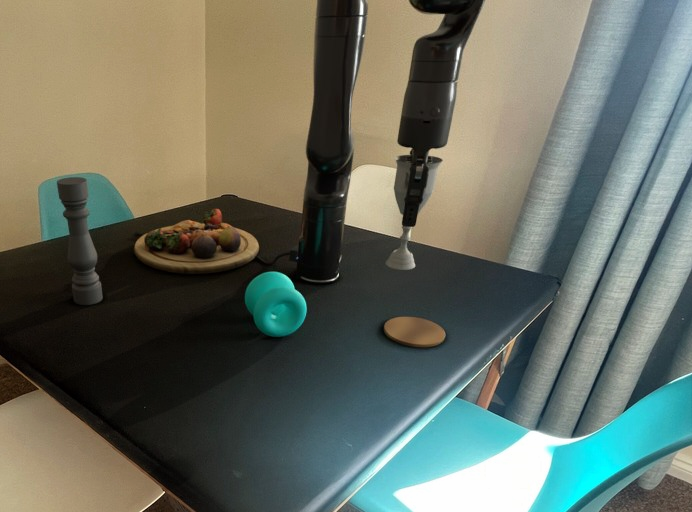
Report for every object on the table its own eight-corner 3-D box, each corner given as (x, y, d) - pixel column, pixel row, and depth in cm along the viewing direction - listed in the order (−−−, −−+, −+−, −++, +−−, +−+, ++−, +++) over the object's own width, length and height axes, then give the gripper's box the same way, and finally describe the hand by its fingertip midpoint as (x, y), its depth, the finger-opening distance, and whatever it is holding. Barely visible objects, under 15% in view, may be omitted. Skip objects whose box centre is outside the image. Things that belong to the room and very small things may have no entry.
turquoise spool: (290, 313, 112) (294, 267, 107) (306, 337, 104) (310, 288, 99) (242, 317, 111) (243, 271, 106) (254, 342, 102) (256, 293, 97)
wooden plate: (185, 224, 162) (184, 195, 157) (281, 245, 146) (283, 214, 141) (108, 257, 140) (104, 225, 135) (210, 287, 124) (210, 252, 119)
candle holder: (108, 295, 121) (94, 178, 107) (91, 307, 116) (75, 186, 103) (84, 290, 123) (68, 175, 110) (67, 302, 118) (48, 183, 105)
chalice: (422, 259, 100) (442, 155, 91) (421, 273, 95) (443, 165, 85) (380, 255, 102) (396, 153, 93) (377, 269, 97) (393, 162, 87)
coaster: (382, 342, 102) (383, 339, 101) (384, 316, 111) (385, 313, 110) (446, 350, 99) (447, 348, 99) (443, 323, 108) (443, 320, 108)
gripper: (402, 106, 92) (386, 206, 101) (400, 119, 80) (383, 232, 89) (450, 107, 90) (430, 209, 99) (456, 121, 78) (433, 235, 87)
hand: (408, 219), depth 94 cm, fingers closed on chalice, 5 cm apart
